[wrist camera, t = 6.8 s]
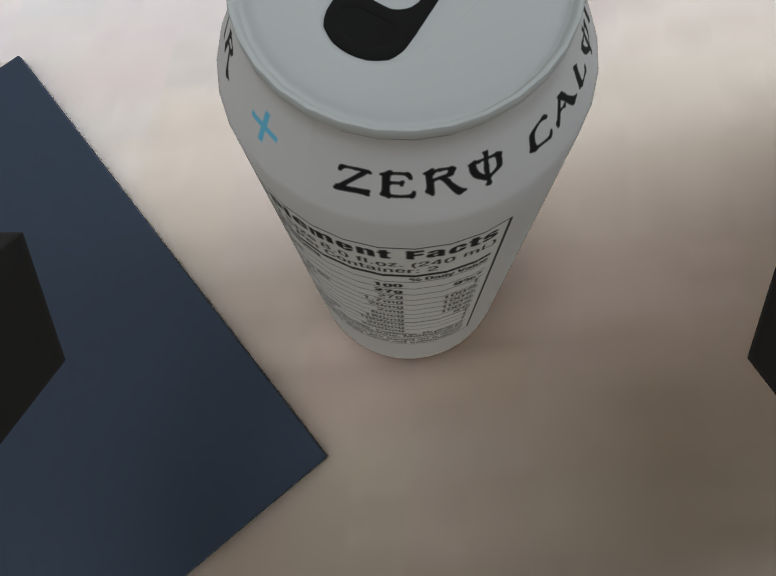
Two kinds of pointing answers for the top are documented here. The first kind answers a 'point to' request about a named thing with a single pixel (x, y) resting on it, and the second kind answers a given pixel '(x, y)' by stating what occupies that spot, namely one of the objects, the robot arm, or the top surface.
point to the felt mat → (125, 379)
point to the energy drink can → (407, 145)
